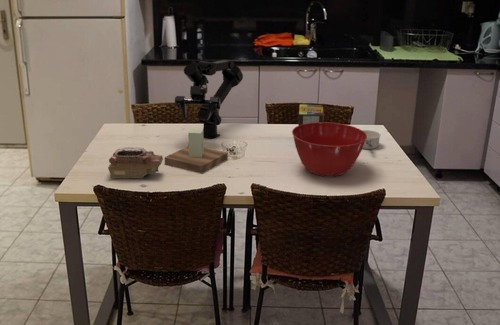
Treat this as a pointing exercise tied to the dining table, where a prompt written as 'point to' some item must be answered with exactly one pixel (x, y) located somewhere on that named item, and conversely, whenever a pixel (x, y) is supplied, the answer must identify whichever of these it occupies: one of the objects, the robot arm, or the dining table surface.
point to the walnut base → (196, 160)
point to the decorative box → (133, 163)
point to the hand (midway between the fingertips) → (195, 120)
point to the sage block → (196, 143)
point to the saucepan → (371, 139)
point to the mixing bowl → (328, 147)
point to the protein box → (310, 114)
